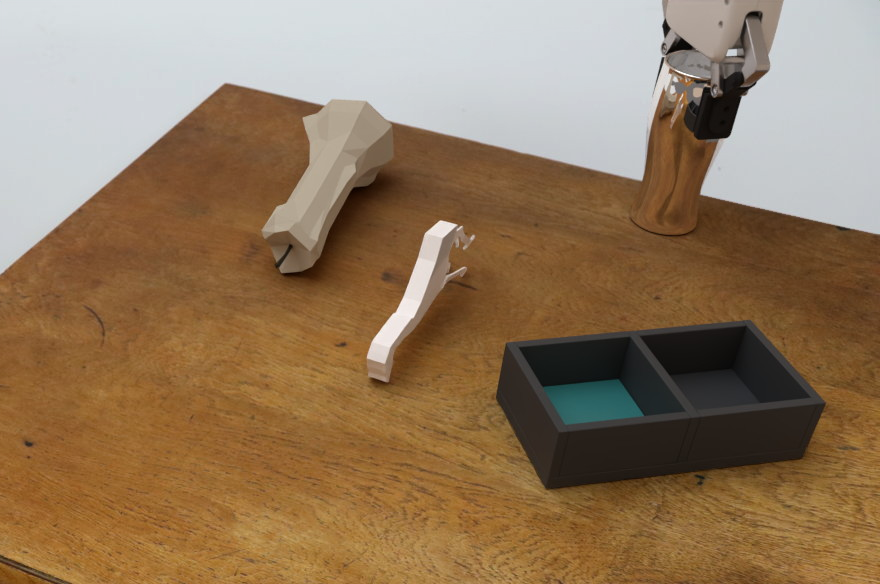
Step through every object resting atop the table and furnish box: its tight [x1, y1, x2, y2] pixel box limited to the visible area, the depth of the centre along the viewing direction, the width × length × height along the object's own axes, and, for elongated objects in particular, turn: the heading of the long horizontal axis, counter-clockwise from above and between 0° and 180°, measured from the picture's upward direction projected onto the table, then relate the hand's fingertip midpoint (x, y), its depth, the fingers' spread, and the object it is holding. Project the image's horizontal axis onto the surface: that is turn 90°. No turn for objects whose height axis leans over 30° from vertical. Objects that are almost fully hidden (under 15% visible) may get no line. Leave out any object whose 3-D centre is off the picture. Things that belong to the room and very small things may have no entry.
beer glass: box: [629, 49, 735, 236], centre depth 99 cm, size 7×7×15 cm
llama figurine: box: [366, 220, 476, 383], centre depth 87 cm, size 2×11×18 cm
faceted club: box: [261, 98, 395, 274], centre depth 98 cm, size 9×8×25 cm
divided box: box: [495, 319, 827, 490], centre depth 78 cm, size 19×10×5 cm, turn 102°
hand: (689, 116), depth 97 cm, fingers closed on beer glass, 7 cm apart
